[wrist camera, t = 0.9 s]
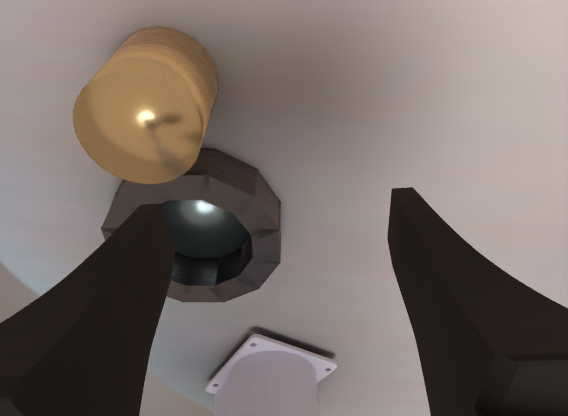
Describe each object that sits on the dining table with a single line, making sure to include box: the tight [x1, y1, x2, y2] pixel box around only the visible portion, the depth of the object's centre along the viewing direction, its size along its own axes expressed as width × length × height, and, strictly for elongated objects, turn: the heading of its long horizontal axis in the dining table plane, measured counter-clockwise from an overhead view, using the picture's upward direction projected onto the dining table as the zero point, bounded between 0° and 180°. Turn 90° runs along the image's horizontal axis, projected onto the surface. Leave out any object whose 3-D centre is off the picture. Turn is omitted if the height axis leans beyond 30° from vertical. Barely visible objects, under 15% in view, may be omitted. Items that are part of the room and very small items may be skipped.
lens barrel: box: [101, 149, 281, 302], centre depth 26 cm, size 10×10×3 cm
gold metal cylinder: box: [73, 26, 218, 184], centre depth 20 cm, size 5×5×6 cm
